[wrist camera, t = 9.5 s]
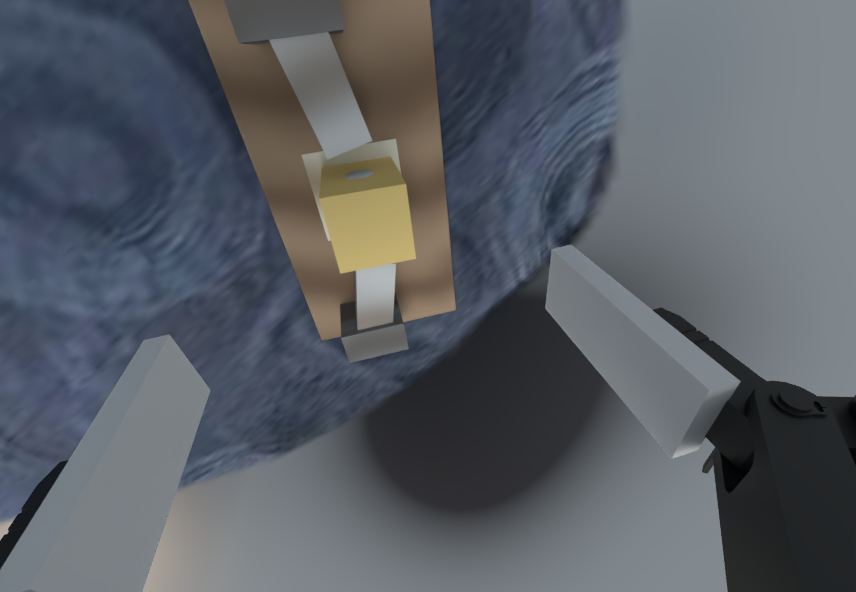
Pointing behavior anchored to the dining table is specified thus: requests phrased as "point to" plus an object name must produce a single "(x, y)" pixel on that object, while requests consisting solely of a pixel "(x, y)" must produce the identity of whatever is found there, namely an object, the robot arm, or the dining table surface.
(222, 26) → the brown wooden base
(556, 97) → the dining table surface
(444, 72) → the dining table surface
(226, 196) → the dining table surface
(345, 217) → the block
